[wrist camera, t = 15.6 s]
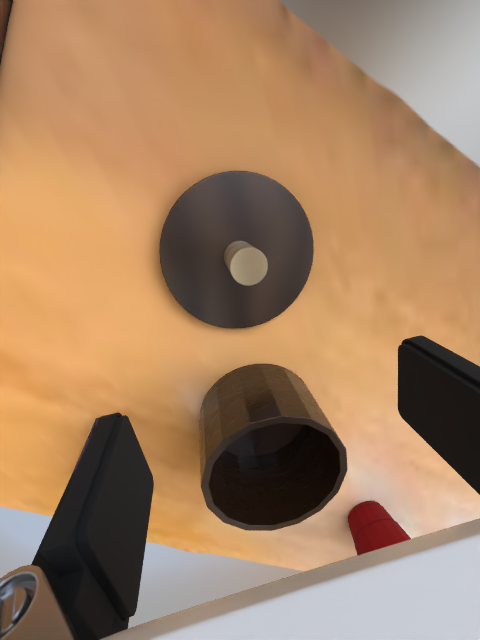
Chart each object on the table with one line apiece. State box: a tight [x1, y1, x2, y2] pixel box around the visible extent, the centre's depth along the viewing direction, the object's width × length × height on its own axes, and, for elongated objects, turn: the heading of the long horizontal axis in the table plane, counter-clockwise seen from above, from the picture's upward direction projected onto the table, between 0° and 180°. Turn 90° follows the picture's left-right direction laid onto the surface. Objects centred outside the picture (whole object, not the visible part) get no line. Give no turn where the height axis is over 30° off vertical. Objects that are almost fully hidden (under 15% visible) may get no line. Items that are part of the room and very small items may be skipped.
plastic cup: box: [348, 501, 411, 555], centre depth 40 cm, size 11×11×12 cm
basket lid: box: [160, 171, 313, 329], centre depth 26 cm, size 15×15×7 cm
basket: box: [199, 364, 347, 531], centre depth 32 cm, size 14×14×10 cm
